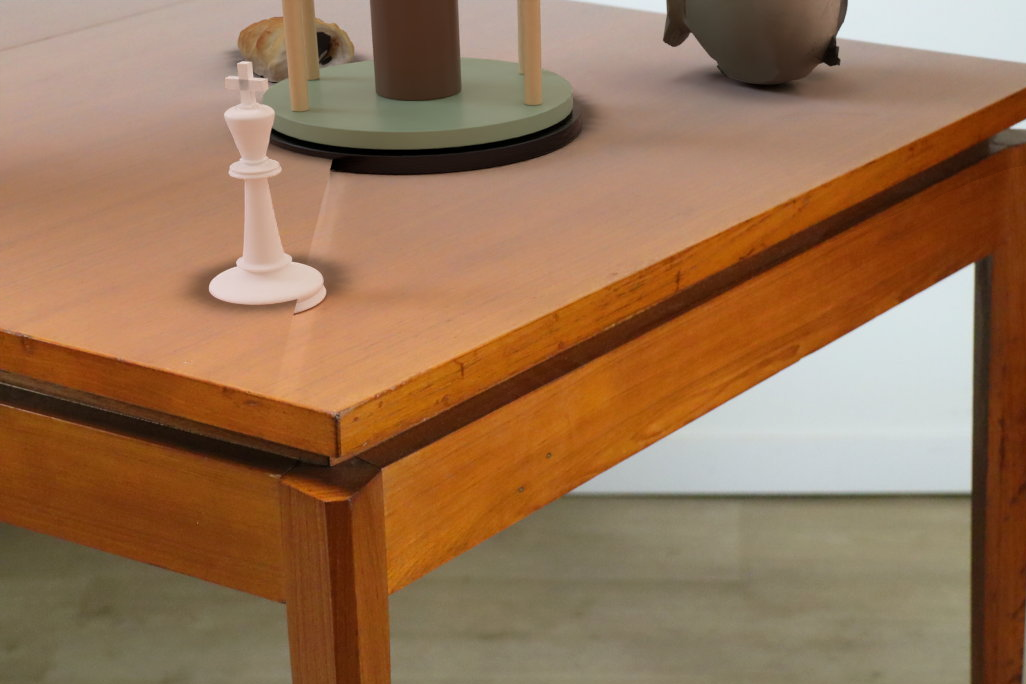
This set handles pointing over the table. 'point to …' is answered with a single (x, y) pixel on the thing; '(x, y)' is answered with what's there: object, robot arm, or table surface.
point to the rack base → (439, 151)
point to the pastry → (269, 47)
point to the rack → (415, 83)
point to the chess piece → (260, 212)
